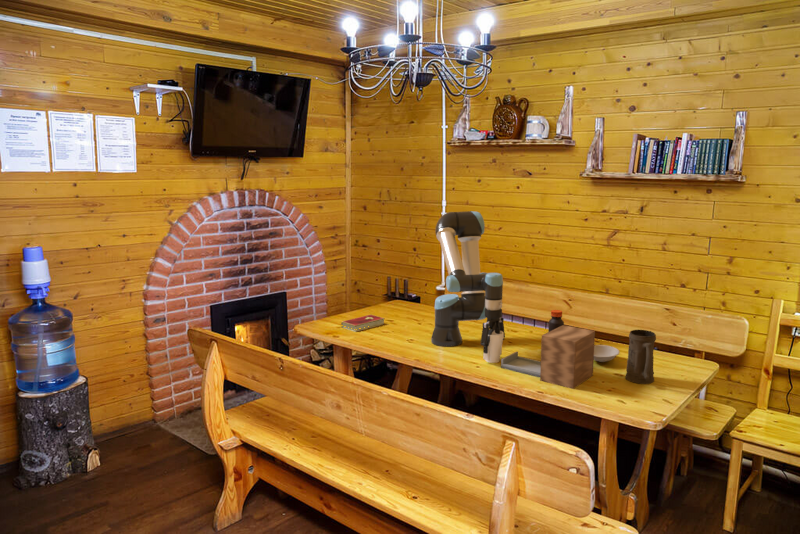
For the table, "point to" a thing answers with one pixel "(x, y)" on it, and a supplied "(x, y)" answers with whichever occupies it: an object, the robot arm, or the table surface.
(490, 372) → the table surface
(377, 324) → the hardcover book
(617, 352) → the dish
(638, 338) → the beer stein
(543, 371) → the wood grain box
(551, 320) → the bottle
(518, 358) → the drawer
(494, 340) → the foam cup
